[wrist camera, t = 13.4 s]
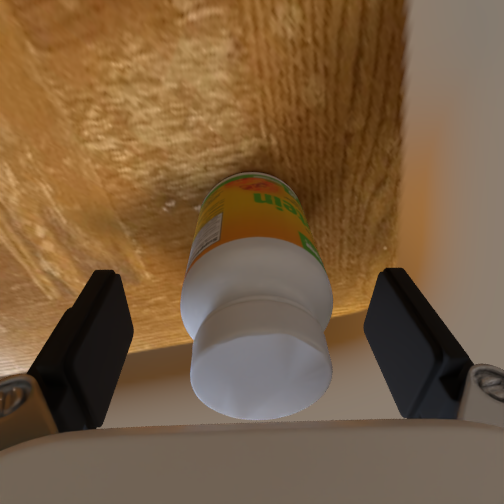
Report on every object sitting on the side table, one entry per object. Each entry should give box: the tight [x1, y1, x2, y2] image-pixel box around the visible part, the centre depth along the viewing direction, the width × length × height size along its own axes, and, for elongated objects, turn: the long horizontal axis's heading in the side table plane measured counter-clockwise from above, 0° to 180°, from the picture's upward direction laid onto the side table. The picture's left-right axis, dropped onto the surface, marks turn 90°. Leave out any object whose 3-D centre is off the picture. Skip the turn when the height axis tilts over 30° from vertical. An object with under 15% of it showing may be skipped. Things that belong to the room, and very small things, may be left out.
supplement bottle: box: [180, 172, 333, 420], centre depth 13 cm, size 5×5×10 cm
